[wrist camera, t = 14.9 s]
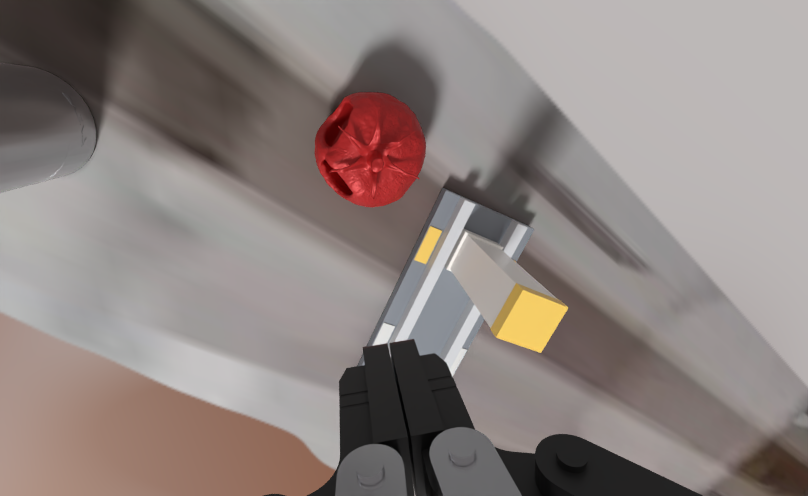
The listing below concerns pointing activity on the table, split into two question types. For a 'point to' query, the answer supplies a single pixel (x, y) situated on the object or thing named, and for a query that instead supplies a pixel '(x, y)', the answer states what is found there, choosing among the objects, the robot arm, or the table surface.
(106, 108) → the table surface
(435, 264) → the switch plate
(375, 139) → the red round fruit
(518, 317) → the switch tab
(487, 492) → the robot arm
